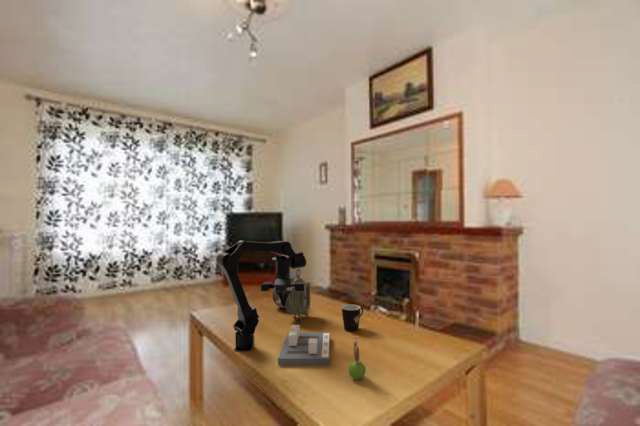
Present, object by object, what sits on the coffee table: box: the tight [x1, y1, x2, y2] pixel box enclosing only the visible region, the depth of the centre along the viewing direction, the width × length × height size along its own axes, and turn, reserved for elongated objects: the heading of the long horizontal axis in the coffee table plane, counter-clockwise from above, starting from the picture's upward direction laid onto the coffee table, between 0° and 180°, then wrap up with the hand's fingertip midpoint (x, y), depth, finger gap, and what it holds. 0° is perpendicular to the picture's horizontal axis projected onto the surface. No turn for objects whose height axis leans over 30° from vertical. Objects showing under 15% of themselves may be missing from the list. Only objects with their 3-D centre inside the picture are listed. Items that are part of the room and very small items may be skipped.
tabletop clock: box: [285, 268, 311, 323], centre depth 163 cm, size 14×9×25 cm, turn 168°
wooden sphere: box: [271, 281, 294, 309], centre depth 183 cm, size 15×15×15 cm
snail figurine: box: [348, 336, 367, 380], centre depth 105 cm, size 5×6×12 cm
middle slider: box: [288, 330, 298, 346], centre depth 126 cm, size 3×4×4 cm
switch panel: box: [277, 332, 331, 367], centre depth 126 cm, size 18×24×3 cm
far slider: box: [290, 324, 301, 338], centre depth 133 cm, size 3×4×4 cm
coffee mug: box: [341, 304, 364, 333], centre depth 148 cm, size 12×9×10 cm
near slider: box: [308, 338, 317, 354], centre depth 119 cm, size 3×4×4 cm
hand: (283, 306), depth 141 cm, fingers closed
